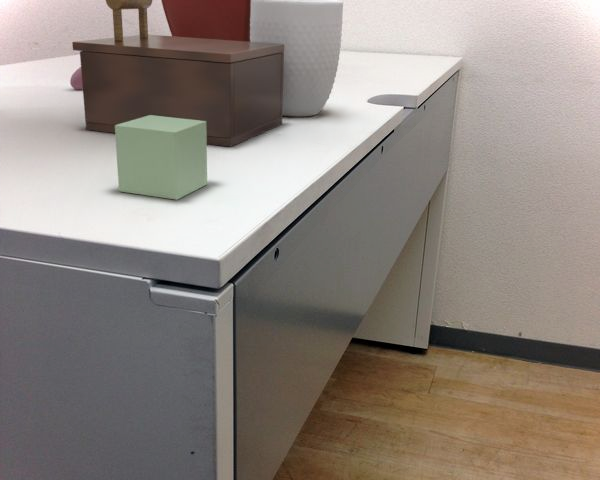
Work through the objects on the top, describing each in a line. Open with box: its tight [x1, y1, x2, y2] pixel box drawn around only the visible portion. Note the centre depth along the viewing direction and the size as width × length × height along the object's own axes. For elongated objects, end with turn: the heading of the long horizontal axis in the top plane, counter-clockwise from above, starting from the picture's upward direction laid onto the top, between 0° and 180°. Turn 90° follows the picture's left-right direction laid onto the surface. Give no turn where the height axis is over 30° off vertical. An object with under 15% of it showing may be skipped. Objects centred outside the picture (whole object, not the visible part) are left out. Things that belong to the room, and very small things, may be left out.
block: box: [114, 115, 208, 201], centre depth 55 cm, size 5×5×5 cm
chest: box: [79, 51, 284, 148], centre depth 78 cm, size 17×14×8 cm
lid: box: [71, 0, 284, 63], centre depth 75 cm, size 17×14×6 cm
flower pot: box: [161, 0, 251, 42], centre depth 126 cm, size 19×19×17 cm
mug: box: [250, 0, 344, 118], centre depth 89 cm, size 15×11×13 cm
